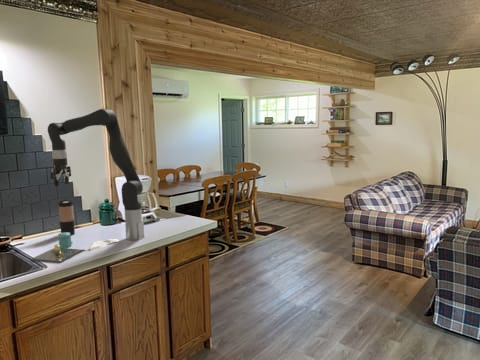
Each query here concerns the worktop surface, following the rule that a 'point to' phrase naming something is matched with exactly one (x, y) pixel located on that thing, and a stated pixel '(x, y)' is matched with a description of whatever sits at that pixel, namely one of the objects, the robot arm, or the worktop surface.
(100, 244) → the cloth
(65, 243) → the teal cap
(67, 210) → the travel mug
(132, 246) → the worktop surface
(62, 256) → the plate
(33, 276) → the worktop surface
